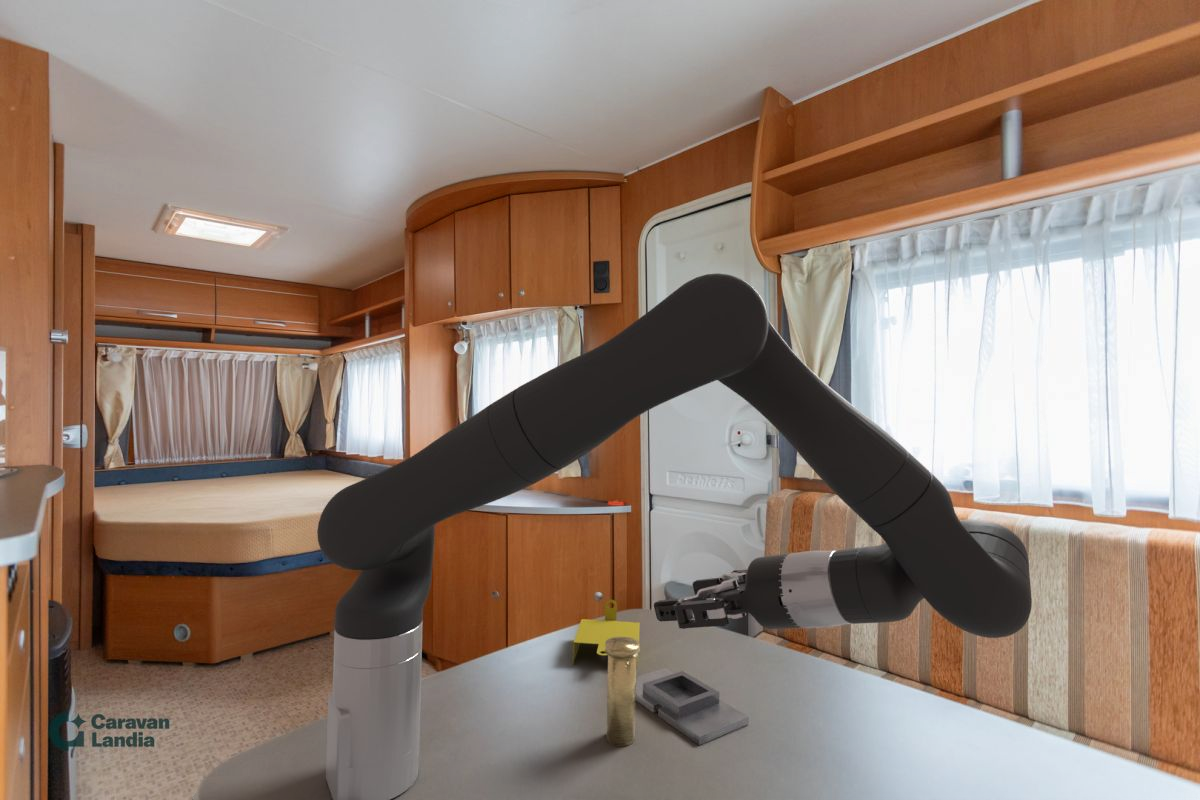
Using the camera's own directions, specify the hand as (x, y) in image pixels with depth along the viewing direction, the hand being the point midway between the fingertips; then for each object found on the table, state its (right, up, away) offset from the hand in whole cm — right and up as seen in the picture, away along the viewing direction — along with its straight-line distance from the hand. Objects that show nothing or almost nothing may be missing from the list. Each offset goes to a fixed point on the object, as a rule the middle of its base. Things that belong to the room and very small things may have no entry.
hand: (676, 599), depth 71 cm
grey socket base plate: (+2, -19, +11) cm, 22 cm away
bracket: (-8, -20, +27) cm, 34 cm away
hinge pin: (-7, -19, +3) cm, 20 cm away
